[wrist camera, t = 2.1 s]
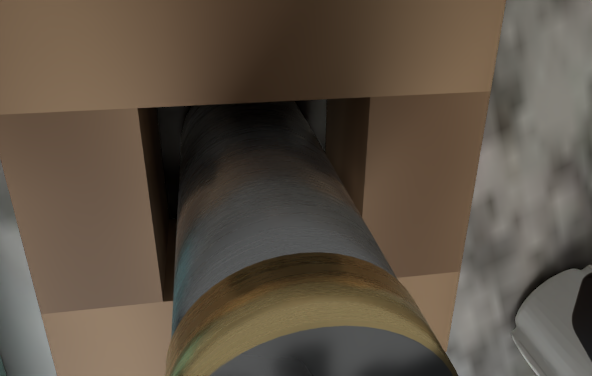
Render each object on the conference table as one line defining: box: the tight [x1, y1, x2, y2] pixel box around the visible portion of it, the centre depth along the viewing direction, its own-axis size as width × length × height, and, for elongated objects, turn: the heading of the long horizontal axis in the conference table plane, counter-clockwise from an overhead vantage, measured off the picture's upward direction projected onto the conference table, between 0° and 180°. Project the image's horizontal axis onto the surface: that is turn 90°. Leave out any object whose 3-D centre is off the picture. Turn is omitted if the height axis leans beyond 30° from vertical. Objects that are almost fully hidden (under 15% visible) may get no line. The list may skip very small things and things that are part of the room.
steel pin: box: [165, 101, 458, 376], centre depth 10 cm, size 3×3×9 cm
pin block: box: [0, 0, 506, 376], centre depth 12 cm, size 9×9×4 cm
